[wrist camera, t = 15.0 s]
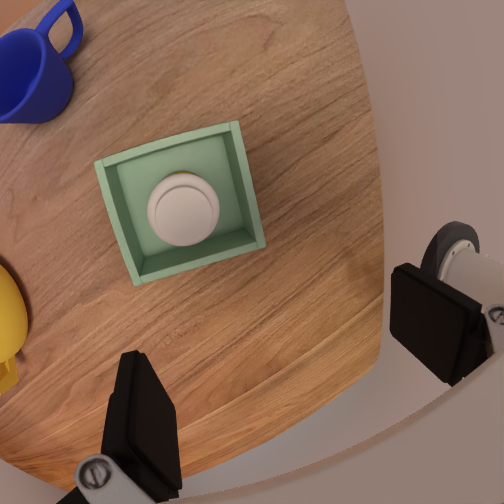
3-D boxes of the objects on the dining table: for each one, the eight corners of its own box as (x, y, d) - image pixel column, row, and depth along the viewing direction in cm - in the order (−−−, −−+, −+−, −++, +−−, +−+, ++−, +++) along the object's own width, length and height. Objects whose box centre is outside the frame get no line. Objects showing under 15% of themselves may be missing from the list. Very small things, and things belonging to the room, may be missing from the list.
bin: (227, 126, 28) (238, 119, 23) (251, 232, 32) (266, 247, 27) (108, 160, 26) (93, 161, 21) (140, 265, 30) (134, 286, 25)
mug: (119, 47, 22) (98, 5, 13) (53, 142, 24) (6, 139, 14) (69, 22, 19) (38, -17, 10) (7, 112, 21) (-43, 103, 11)
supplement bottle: (220, 204, 30) (240, 227, 20) (175, 235, 30) (174, 272, 20) (190, 158, 28) (196, 158, 18) (143, 191, 27) (126, 207, 18)
